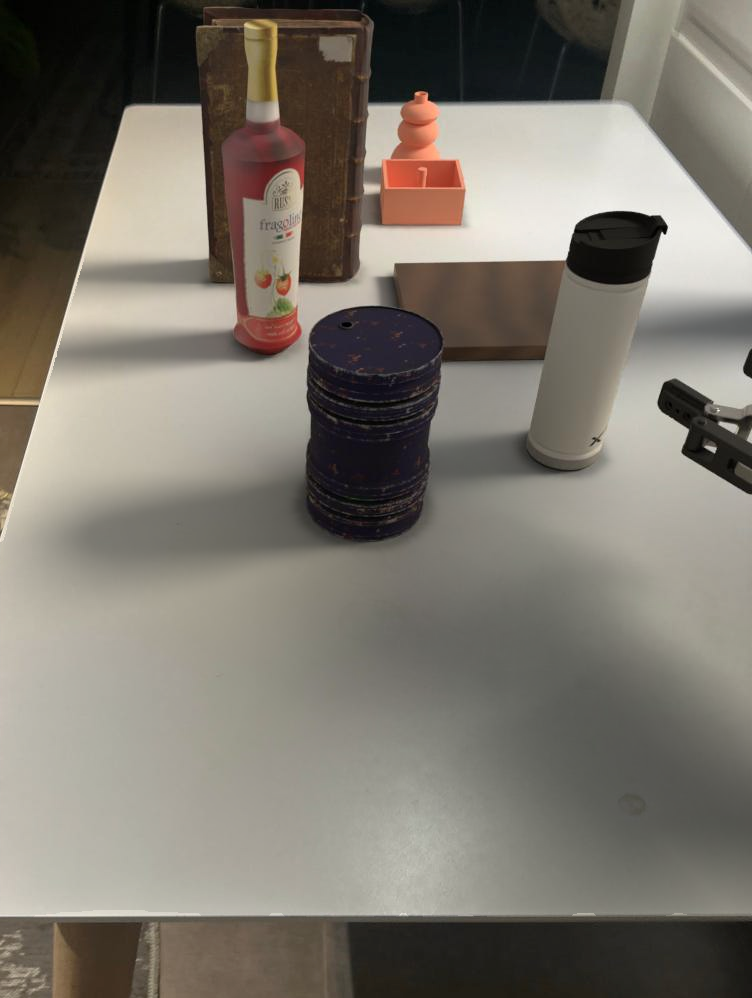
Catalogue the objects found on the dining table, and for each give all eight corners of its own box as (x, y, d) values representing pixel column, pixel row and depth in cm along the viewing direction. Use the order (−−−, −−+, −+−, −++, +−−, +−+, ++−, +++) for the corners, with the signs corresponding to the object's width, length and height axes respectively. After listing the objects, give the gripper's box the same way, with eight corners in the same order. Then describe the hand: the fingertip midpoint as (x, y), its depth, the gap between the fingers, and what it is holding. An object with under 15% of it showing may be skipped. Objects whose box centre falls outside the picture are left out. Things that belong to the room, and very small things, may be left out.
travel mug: (610, 470, 81) (680, 239, 67) (533, 472, 81) (585, 241, 67) (593, 428, 86) (655, 201, 71) (519, 429, 86) (566, 203, 71)
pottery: (461, 224, 115) (472, 137, 108) (382, 224, 115) (388, 137, 108) (448, 166, 127) (458, 85, 120) (377, 166, 127) (382, 85, 120)
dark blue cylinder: (449, 503, 79) (474, 338, 68) (369, 560, 74) (383, 392, 63) (359, 453, 84) (369, 291, 73) (280, 503, 79) (278, 339, 68)
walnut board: (573, 272, 106) (576, 259, 105) (613, 358, 94) (617, 344, 93) (393, 275, 106) (394, 262, 105) (409, 361, 94) (411, 347, 93)
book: (362, 262, 108) (376, 6, 90) (357, 292, 104) (371, 28, 85) (218, 255, 110) (203, 2, 92) (206, 284, 105) (188, 24, 87)
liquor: (257, 369, 93) (246, 43, 73) (218, 338, 97) (198, 21, 77) (318, 347, 96) (324, 26, 75) (277, 317, 100) (273, 6, 80)
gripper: (1019, 408, 57) (795, 298, 67) (865, 483, 53) (648, 353, 62) (956, 506, 63) (757, 391, 73) (811, 582, 58) (619, 449, 68)
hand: (707, 374), depth 67 cm, fingers open, 8 cm apart
